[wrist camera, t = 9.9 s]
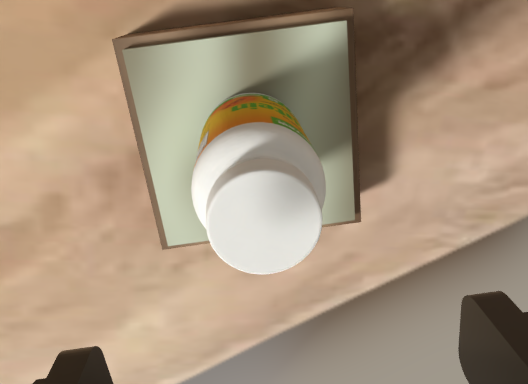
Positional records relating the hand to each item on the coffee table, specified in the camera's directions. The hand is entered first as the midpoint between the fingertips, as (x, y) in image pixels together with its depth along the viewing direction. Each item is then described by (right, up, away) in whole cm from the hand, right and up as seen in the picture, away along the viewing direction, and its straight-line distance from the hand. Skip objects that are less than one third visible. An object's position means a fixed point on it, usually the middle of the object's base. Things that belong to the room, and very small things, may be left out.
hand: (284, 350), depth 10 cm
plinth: (-1, +8, +18) cm, 19 cm away
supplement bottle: (-1, +6, +14) cm, 16 cm away
